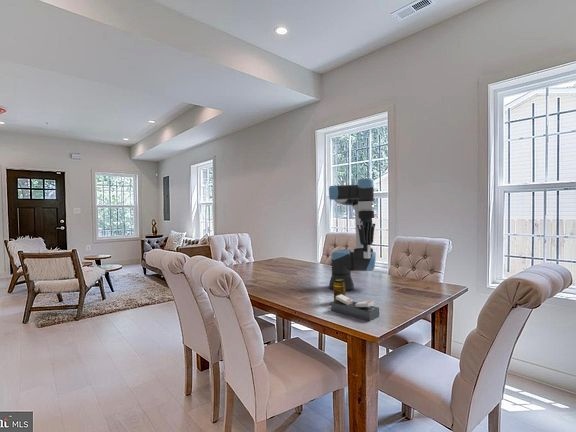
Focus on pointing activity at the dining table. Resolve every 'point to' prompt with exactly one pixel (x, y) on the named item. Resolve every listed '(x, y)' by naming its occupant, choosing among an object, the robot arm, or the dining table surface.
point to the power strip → (355, 310)
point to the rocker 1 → (344, 299)
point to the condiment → (339, 288)
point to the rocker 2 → (364, 304)
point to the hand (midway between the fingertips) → (367, 258)
